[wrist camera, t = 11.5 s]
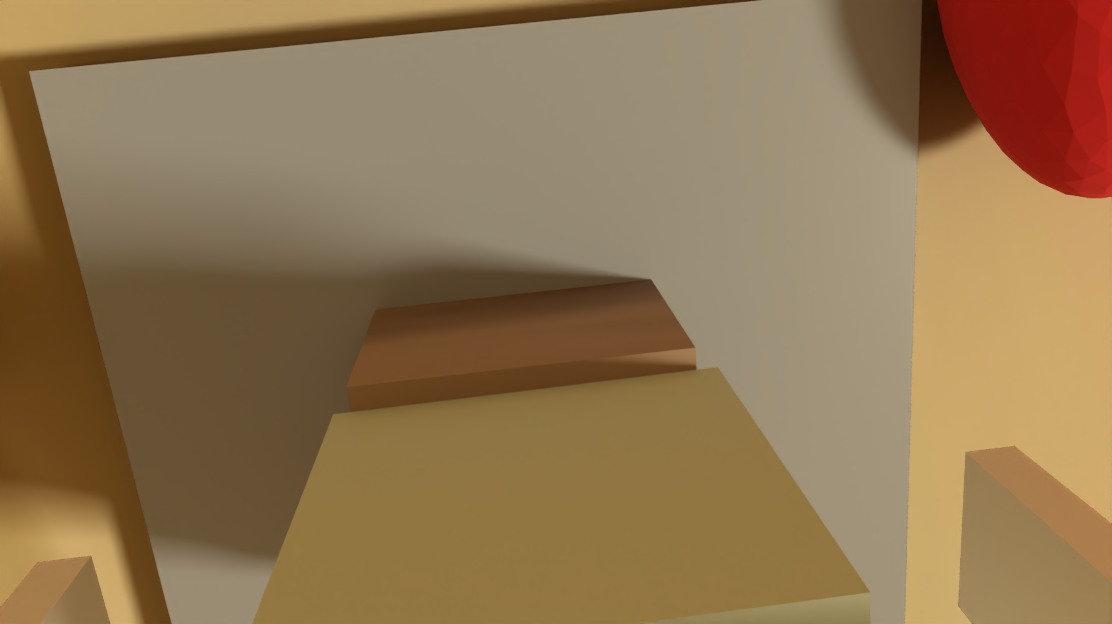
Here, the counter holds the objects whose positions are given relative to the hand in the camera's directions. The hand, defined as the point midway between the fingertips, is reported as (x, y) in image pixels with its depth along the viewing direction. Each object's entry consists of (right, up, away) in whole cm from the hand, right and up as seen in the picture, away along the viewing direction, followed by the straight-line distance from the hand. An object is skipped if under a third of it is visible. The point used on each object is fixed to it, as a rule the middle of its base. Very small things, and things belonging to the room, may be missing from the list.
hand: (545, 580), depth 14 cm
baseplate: (0, +2, +6) cm, 6 cm away
